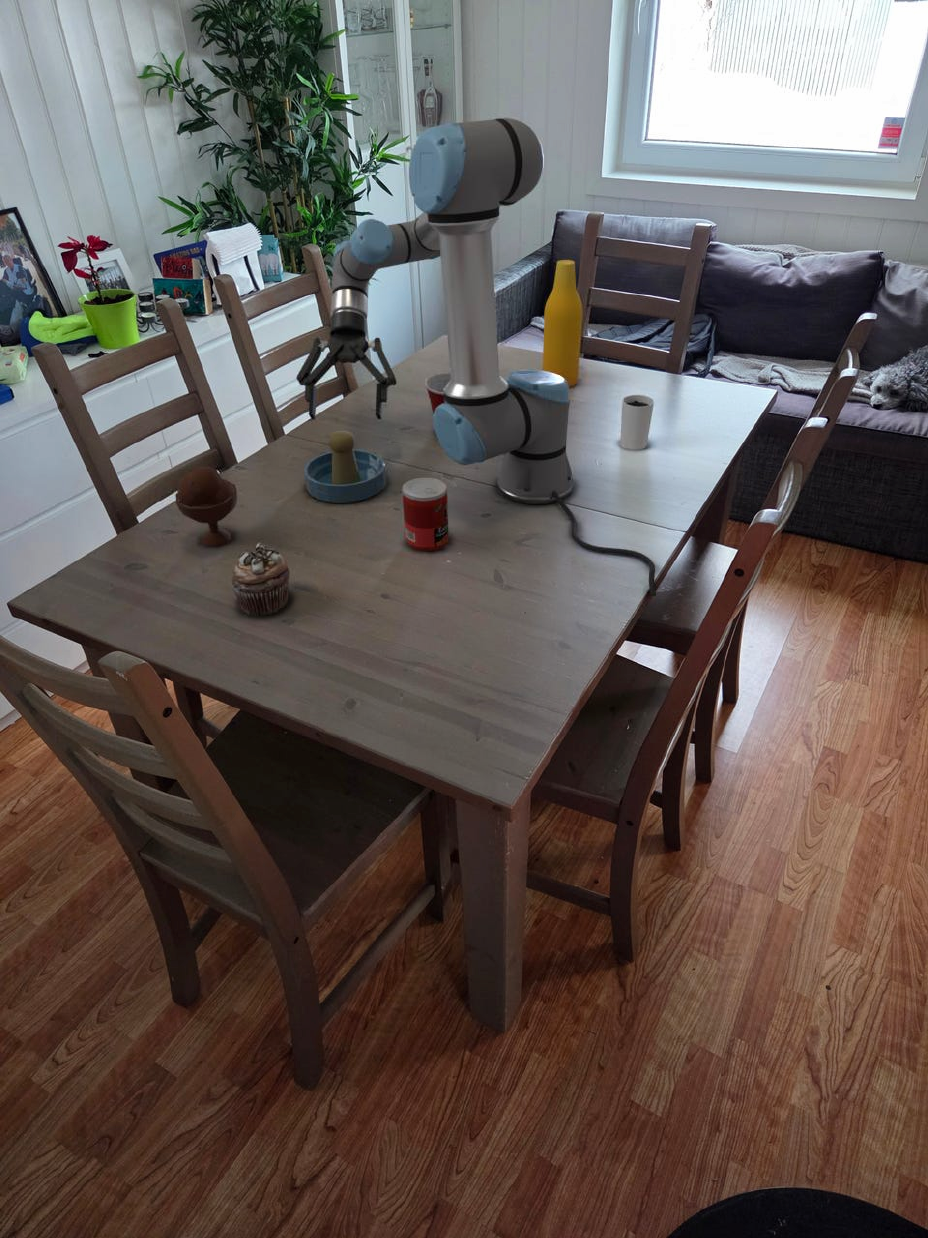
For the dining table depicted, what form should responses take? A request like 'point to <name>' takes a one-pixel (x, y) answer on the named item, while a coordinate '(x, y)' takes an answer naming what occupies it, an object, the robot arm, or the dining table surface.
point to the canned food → (426, 513)
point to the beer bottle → (563, 325)
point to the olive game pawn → (343, 458)
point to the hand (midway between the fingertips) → (345, 416)
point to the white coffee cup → (636, 421)
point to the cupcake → (261, 581)
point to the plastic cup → (437, 388)
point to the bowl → (323, 489)
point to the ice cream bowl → (207, 501)
